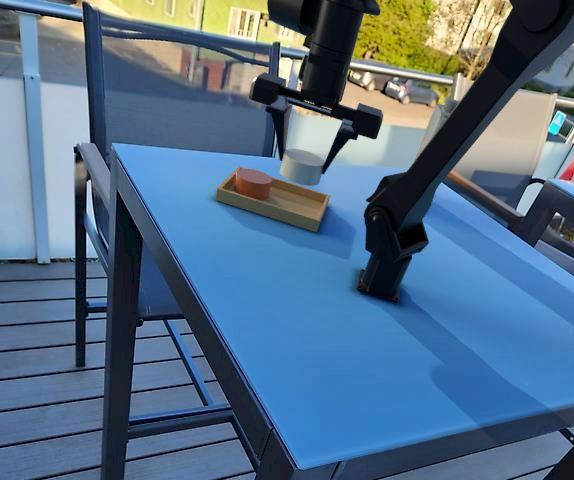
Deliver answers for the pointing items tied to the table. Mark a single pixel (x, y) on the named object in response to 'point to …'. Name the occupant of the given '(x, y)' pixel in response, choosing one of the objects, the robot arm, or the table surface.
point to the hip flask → (436, 122)
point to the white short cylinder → (301, 167)
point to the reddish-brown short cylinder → (253, 184)
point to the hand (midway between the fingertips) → (302, 166)
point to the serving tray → (280, 202)
